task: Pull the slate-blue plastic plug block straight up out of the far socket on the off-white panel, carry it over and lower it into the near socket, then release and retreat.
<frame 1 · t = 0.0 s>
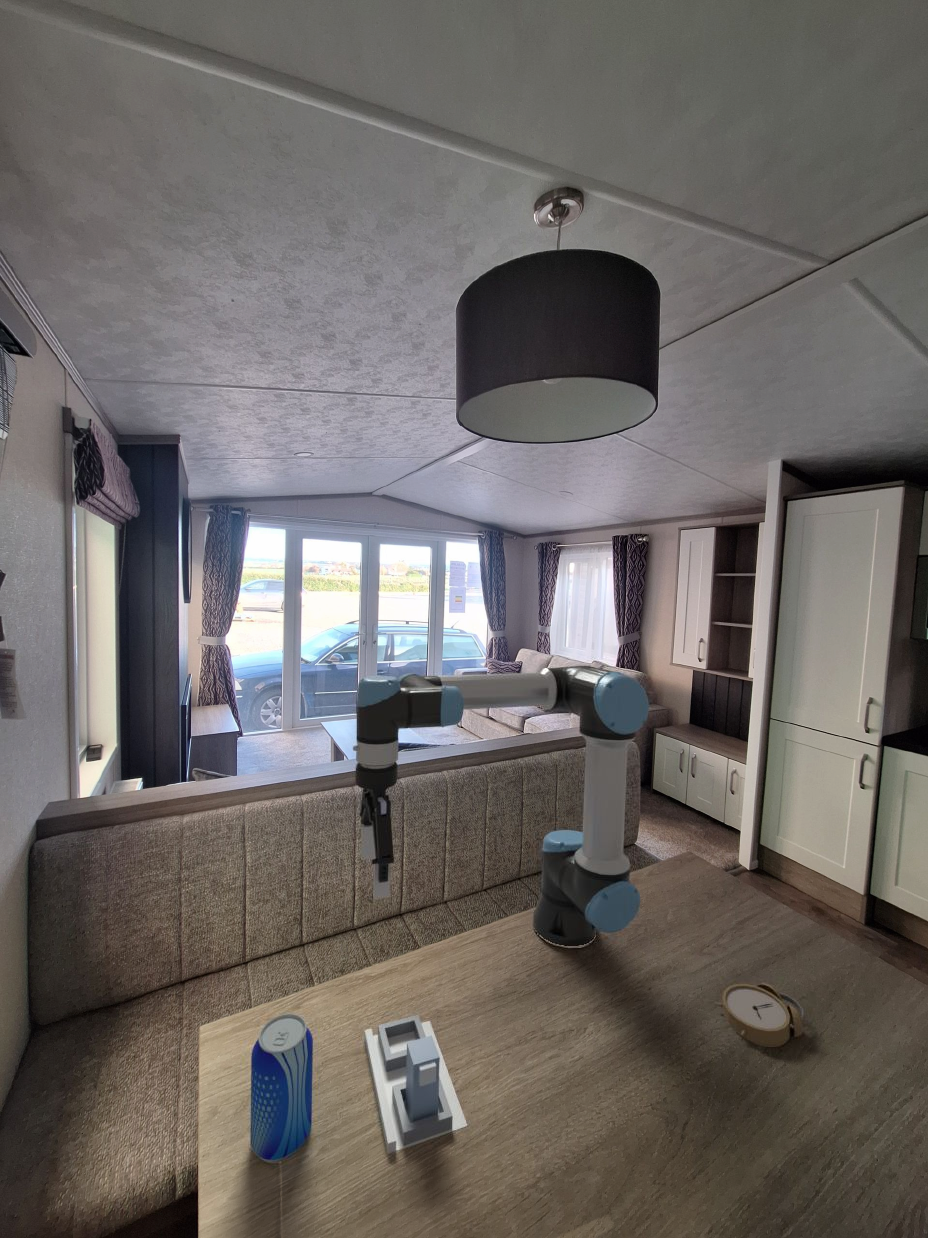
hand: (374, 877, 94), 28 cm above the table, fingers open, 13 cm apart
plug: (421, 1113, 78), point 1 cm above the table, touching panel
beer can: (281, 1139, 75), on the table
panel: (411, 1084, 84), on the table
alarm clock: (762, 1023, 98), on the table
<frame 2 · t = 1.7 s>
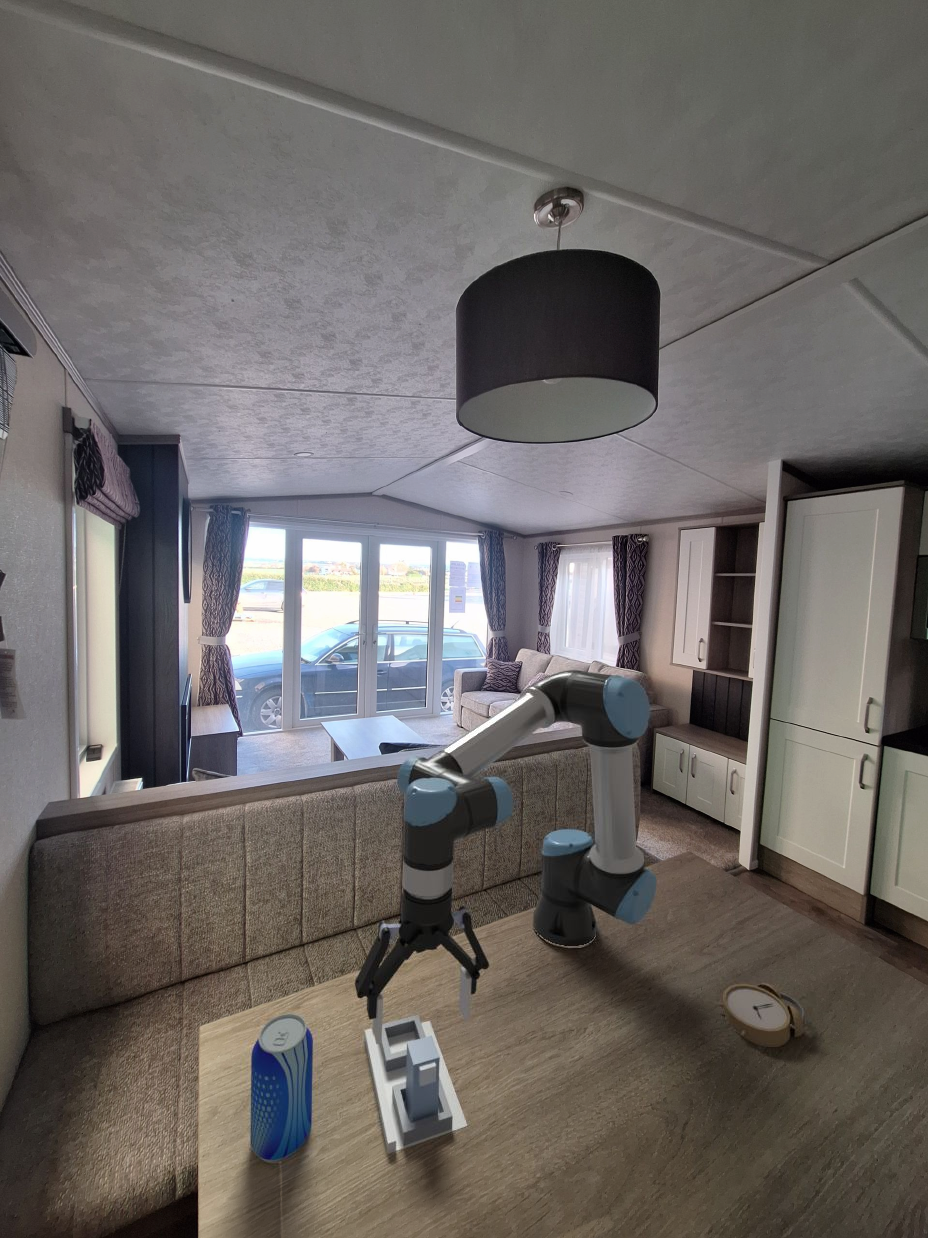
hand: (422, 1025, 77), 15 cm above the table, fingers open, 13 cm apart
nothing on the table moved.
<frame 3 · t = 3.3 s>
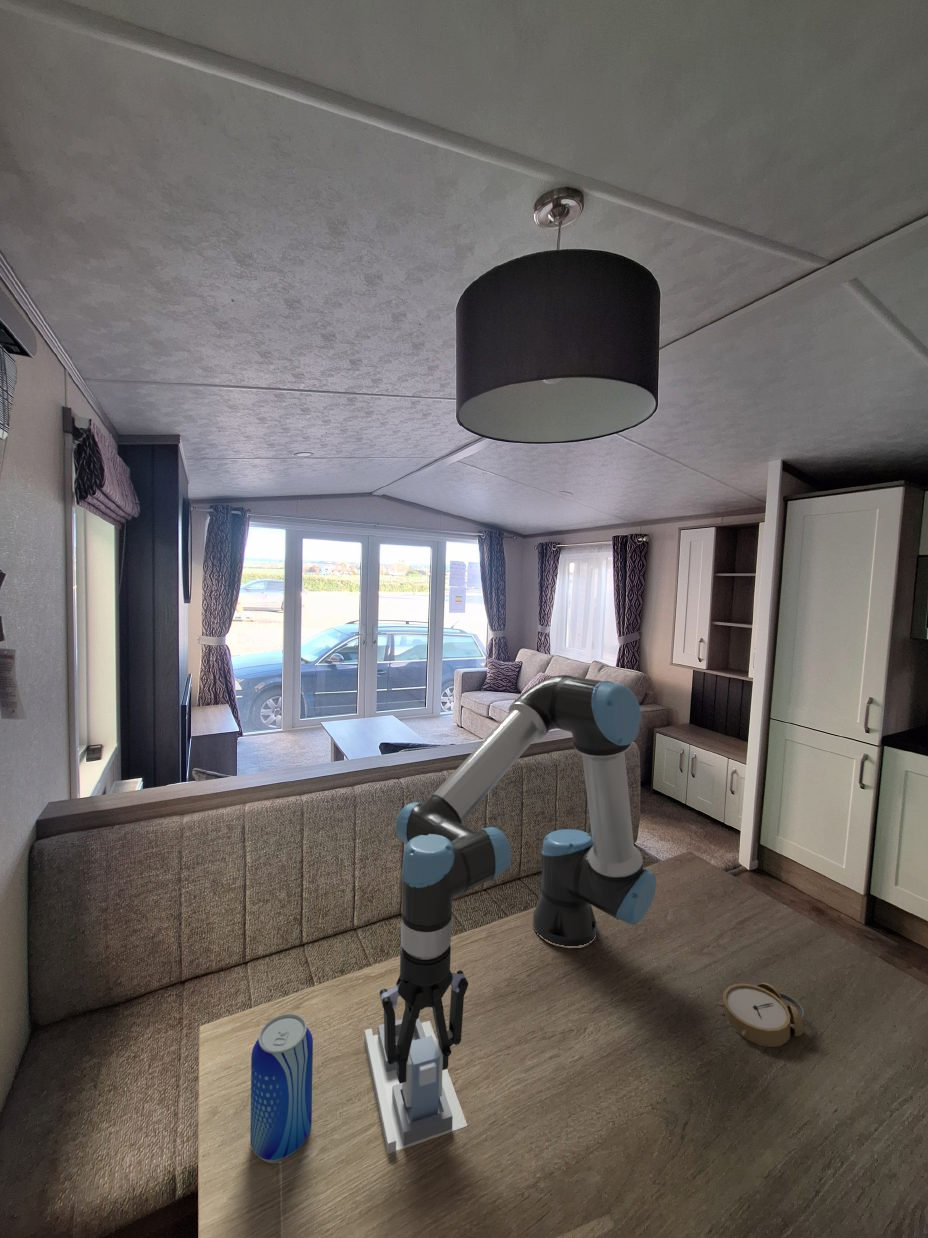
hand: (421, 1093, 78), 4 cm above the table, fingers closed on plug, 4 cm apart
plug: (421, 1113, 78), point 1 cm above the table, touching gripper, panel
everything else where it was.
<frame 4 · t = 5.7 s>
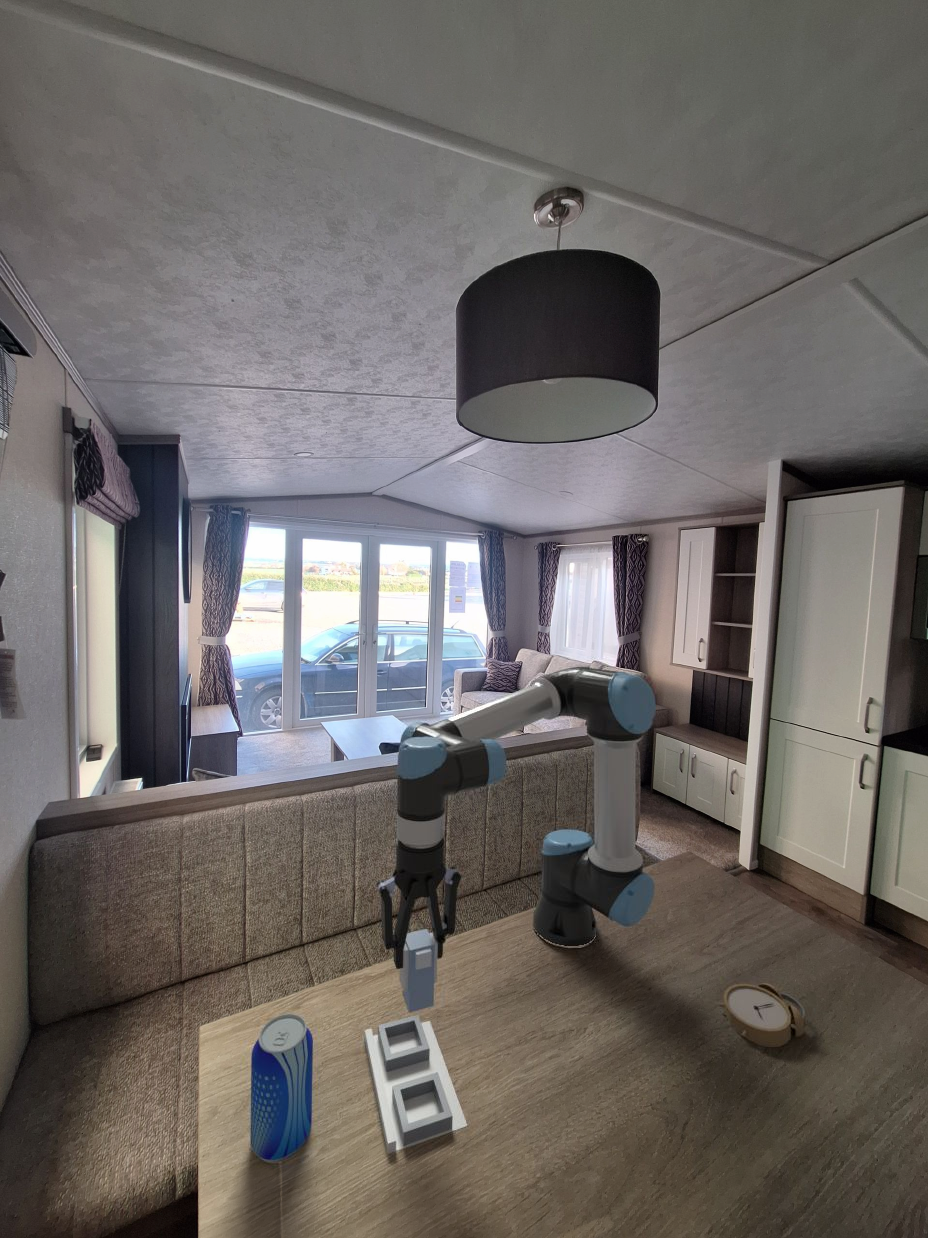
hand: (418, 980, 82), 18 cm above the table, fingers closed on plug, 4 cm apart
plug: (417, 1000, 82), point 15 cm above the table, touching gripper
everything else where it was.
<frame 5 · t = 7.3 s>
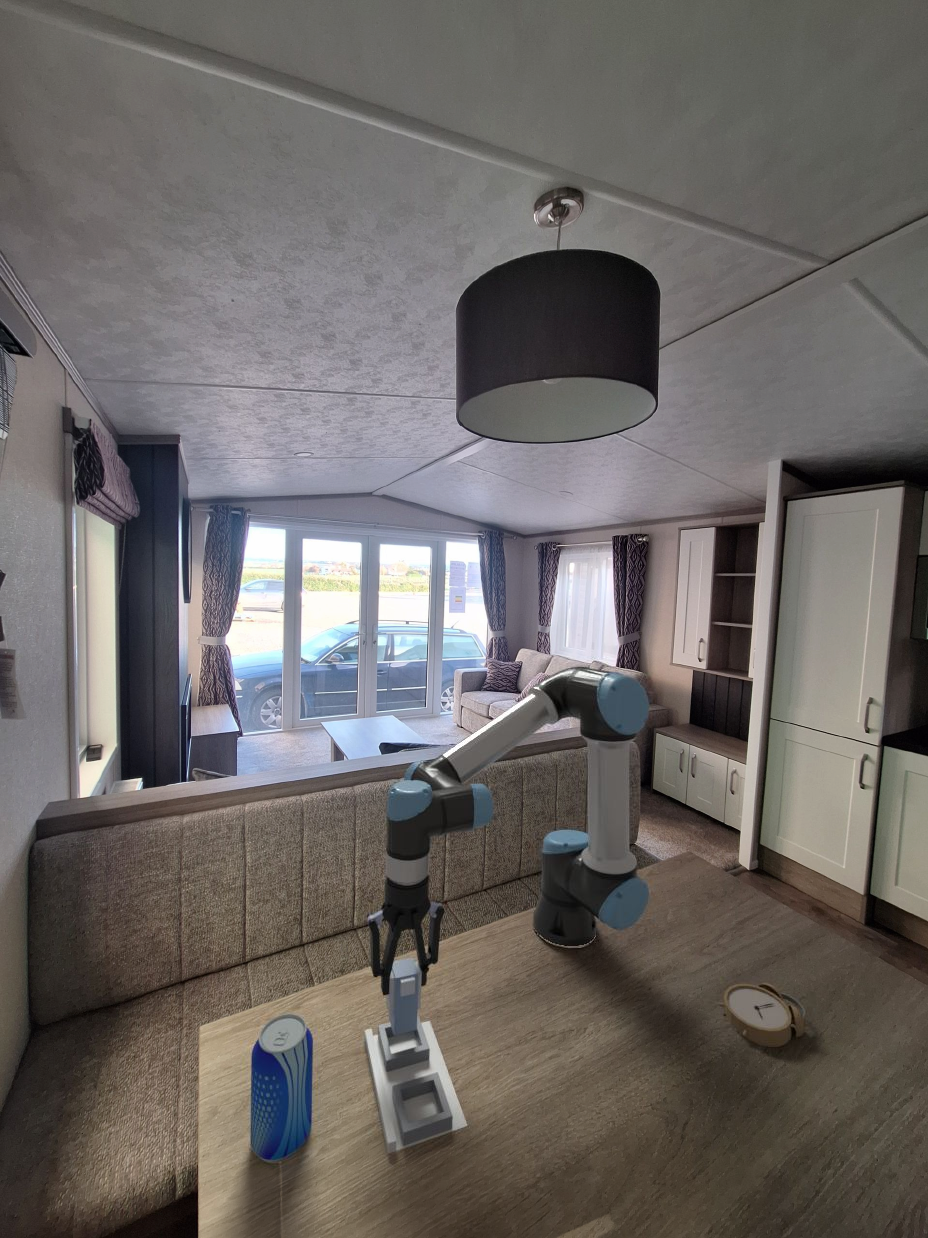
hand: (403, 1006, 89), 8 cm above the table, fingers closed on plug, 4 cm apart
plug: (402, 1023, 89), point 5 cm above the table, touching gripper
everything else where it was.
when the fingers open (5 cm above the table, at t = 8.3 s): plug stays where it is, resting on panel.
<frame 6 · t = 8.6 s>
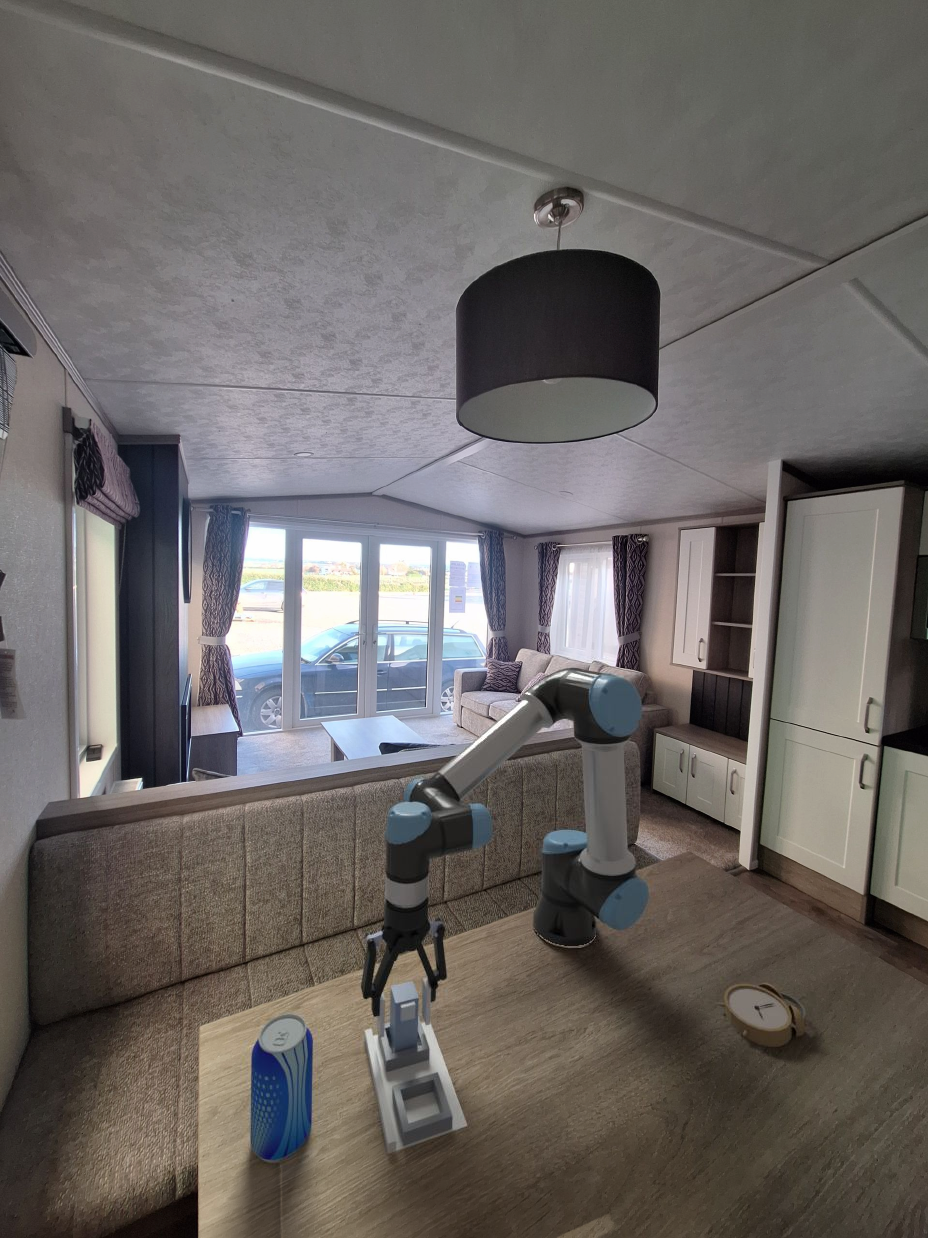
hand: (403, 1024, 89), 5 cm above the table, fingers open, 7 cm apart
plug: (403, 1047, 89), point 1 cm above the table, touching panel
everything else where it was.
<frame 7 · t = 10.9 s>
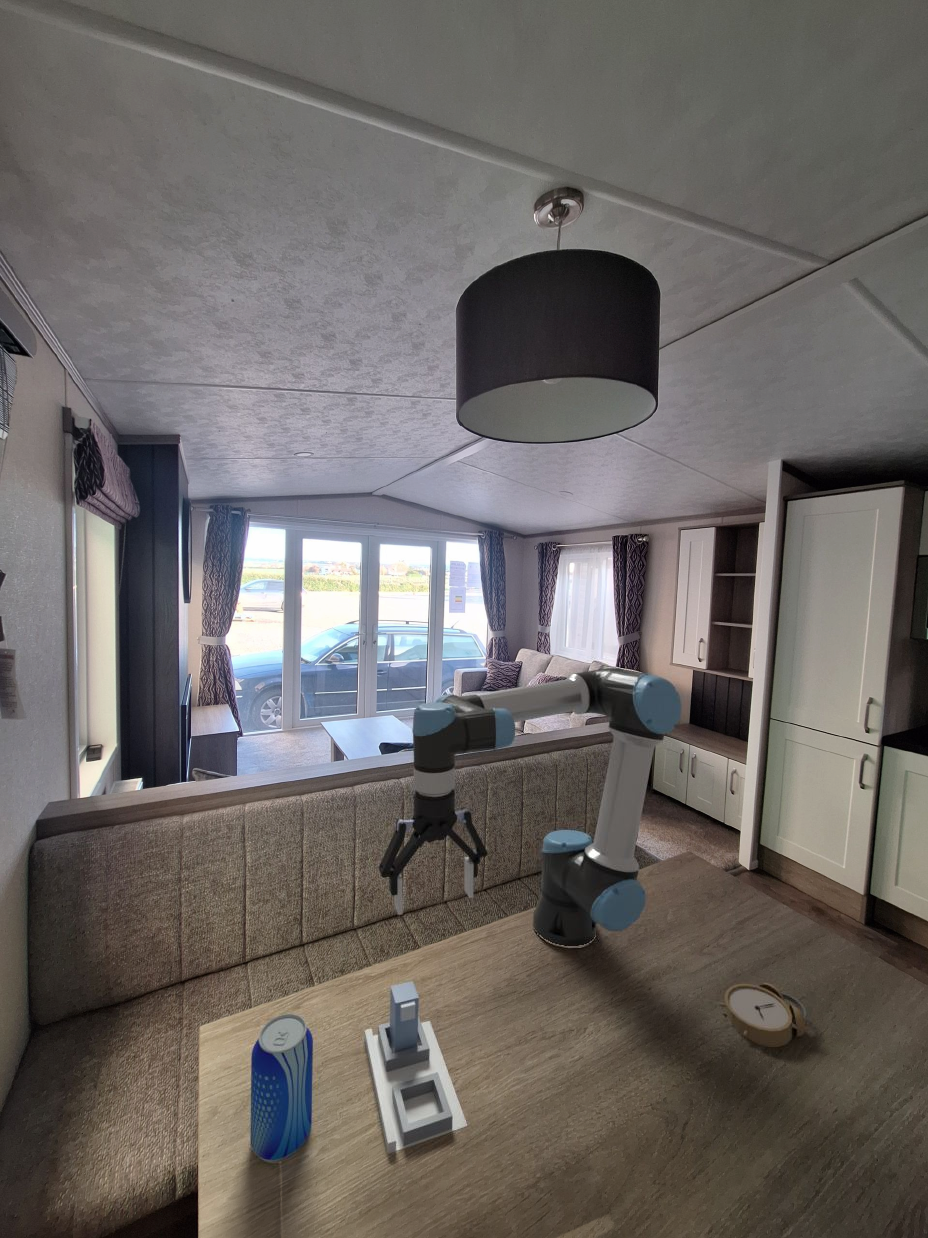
hand: (434, 902, 95), 23 cm above the table, fingers open, 13 cm apart
nothing on the table moved.
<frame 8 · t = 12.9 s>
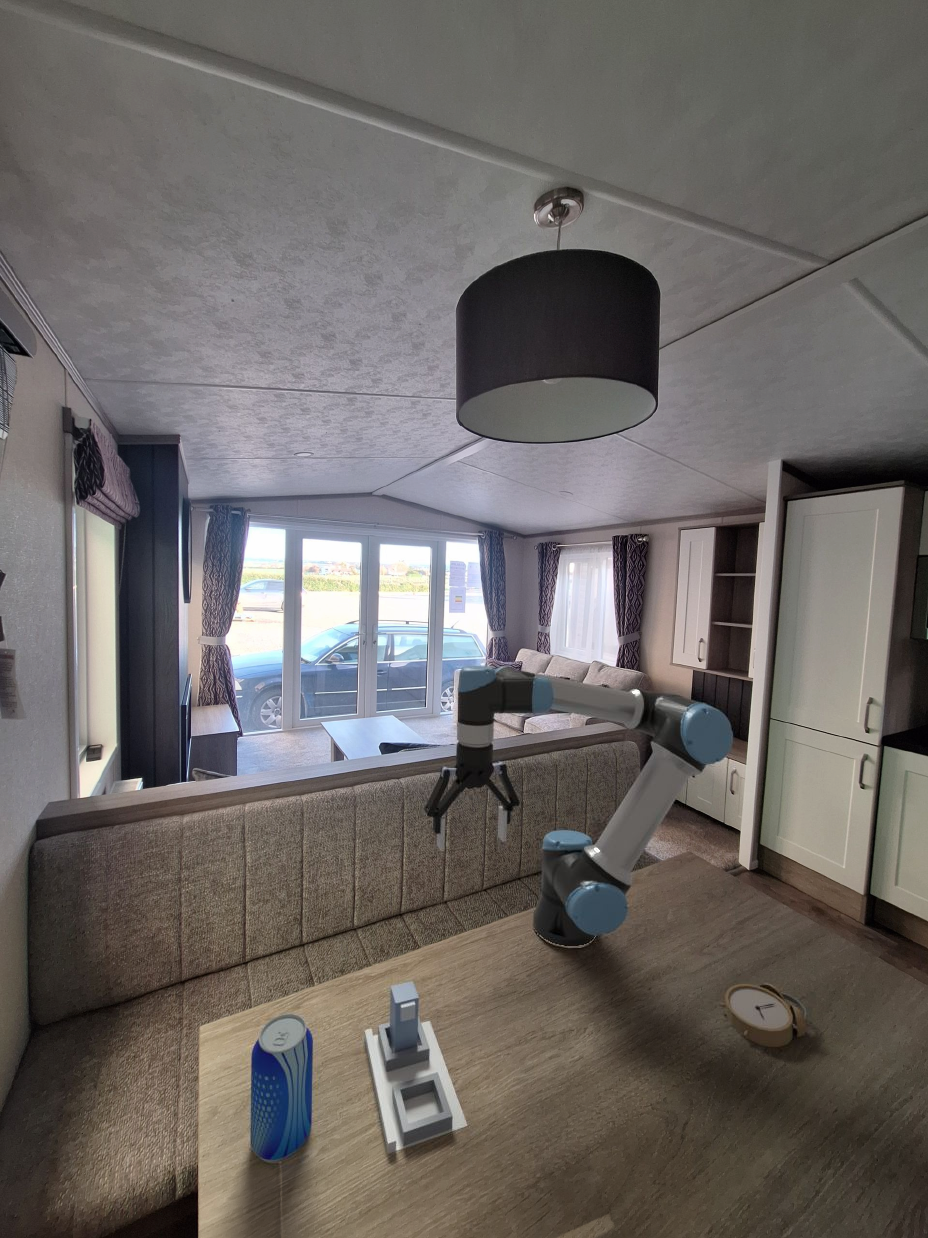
hand: (471, 843, 106), 29 cm above the table, fingers open, 13 cm apart
nothing on the table moved.
at the end: plug 0.0 cm from the target spot on the panel, point 1.0 cm above the panel's base; plug tilted 0°; the gripper is holding nothing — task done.
